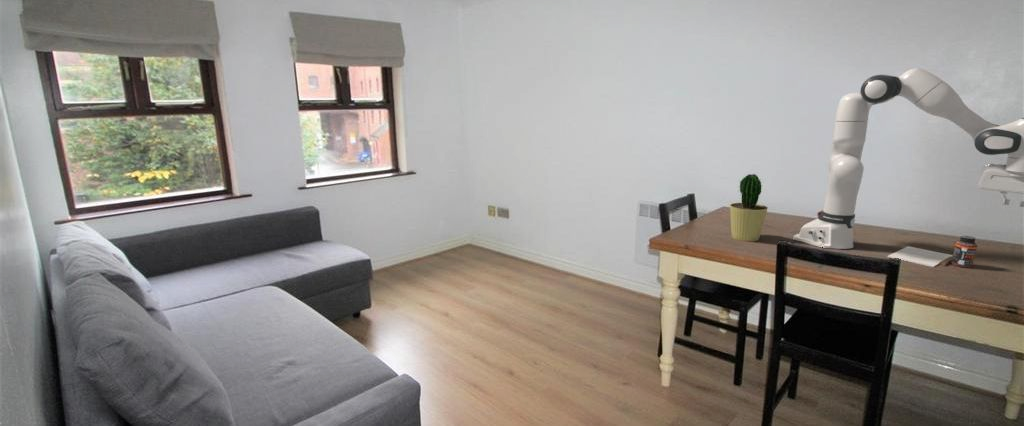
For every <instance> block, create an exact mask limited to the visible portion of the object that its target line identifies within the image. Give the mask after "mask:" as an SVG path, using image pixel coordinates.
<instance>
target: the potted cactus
mask: <svg viewBox="0 0 1024 426" xmlns="http://www.w3.org/2000/svg"><path fill="white" fill-rule="evenodd" d="M744 175H745V176H744V177H743V178H742V179H741V180H738V182H739V186H738V188H739V190H737V192H738V193H739V195H740V196H741V198H740V199H741V200H740V201H741V202H732V203H730V204H729V209H730V210H729V212H730V214H729V215H730V228H731V229H730V231H731V238H732V239H734V240H738V241H743V242H756V241H757V242H758V241H759V239H760V236H761V233H762V230H763V226H764V223H765V220H766V215H767V212H768V206H765V205H763V204H759V202H758V201H759V197H761V193H762V187H763V184H762V181H761V178H759V176H758V175H757V174H755V173H751V174H749V173H748V174H744Z"/></svg>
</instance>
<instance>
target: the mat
mask: <svg viewBox="0 0 1024 426" xmlns="http://www.w3.org/2000/svg"><path fill="white" fill-rule="evenodd" d="M950 256H951V257H953V254H949V253H944V252H939V251H938V252H937V251H934V250H928V249H924V248H918V247H913V246H910V245H909V246H906V247H904V248H902V249H899V250H898V251H895V252H893V253H891V254H888V255H887V256H886V257H887V258H889V259H890V258H891V259H894V258H899V259H901V260H900V261H903V260H904V261H905V262H907V261H908V262H909V263H912V264H917V265H921V266H926V267H931V268H934V267H936V266H938V265H939V263H940V262H941V261H943V260H945V259H946V258H948V257H950ZM904 261H903V262H904Z"/></svg>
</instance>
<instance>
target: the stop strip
mask: <svg viewBox="0 0 1024 426" xmlns="http://www.w3.org/2000/svg"><path fill="white" fill-rule="evenodd" d="M952 258H953V256H952V257H951V256H950V257H948V258H946V259H945V260H943V261H941V262H940V263H939V264H938V265H939V266H942V267H945V266H947V265H949V264H950V263H952Z"/></svg>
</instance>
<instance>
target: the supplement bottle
mask: <svg viewBox="0 0 1024 426" xmlns="http://www.w3.org/2000/svg"><path fill="white" fill-rule="evenodd" d="M977 249H978V244H977V243H976V237H974V236H972V235H971V236H970V235H960V239H959V240H957V241H956V243H955V246H954V250H953V254H952V255H953V256H952V257H953V258H952V262H951V264H952V265H953V266H956V267H960V268H968V269H969V268H972V267H973V265H974V261H975V257H976V252H977Z"/></svg>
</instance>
